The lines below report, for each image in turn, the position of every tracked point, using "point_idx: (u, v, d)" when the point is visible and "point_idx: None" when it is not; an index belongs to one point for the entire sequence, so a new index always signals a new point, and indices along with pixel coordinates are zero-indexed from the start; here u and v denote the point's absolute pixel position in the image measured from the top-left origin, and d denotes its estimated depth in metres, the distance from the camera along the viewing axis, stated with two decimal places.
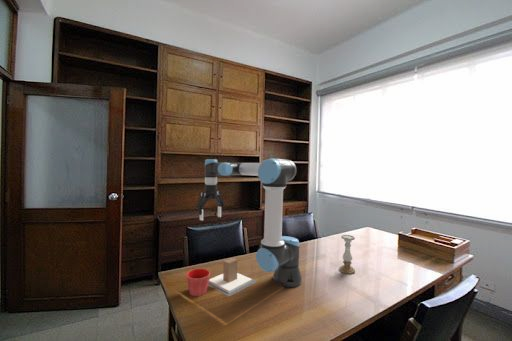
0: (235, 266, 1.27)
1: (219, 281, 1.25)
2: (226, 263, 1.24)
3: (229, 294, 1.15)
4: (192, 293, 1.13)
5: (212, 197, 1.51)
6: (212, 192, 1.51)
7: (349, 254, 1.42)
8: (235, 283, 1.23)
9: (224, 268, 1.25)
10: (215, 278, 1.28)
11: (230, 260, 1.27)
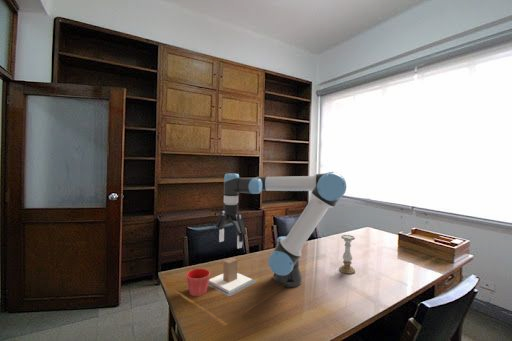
0: (235, 266, 1.27)
1: (219, 281, 1.25)
2: (226, 263, 1.24)
3: (229, 294, 1.15)
4: (192, 293, 1.13)
5: (229, 219, 1.25)
6: (229, 213, 1.25)
7: (349, 254, 1.42)
8: (235, 283, 1.23)
9: (224, 268, 1.25)
10: (215, 278, 1.28)
11: (230, 260, 1.27)
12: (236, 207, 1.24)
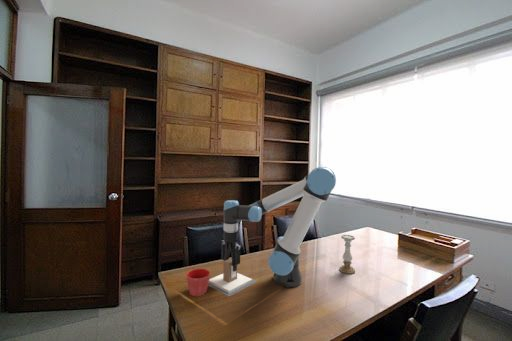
0: None
1: (219, 281, 1.25)
2: (227, 263, 1.24)
3: (229, 294, 1.15)
4: (192, 293, 1.13)
5: (229, 247, 1.25)
6: (229, 241, 1.25)
7: (349, 254, 1.42)
8: (235, 283, 1.23)
9: (224, 268, 1.25)
10: (215, 278, 1.28)
11: (230, 260, 1.27)
12: (236, 235, 1.24)
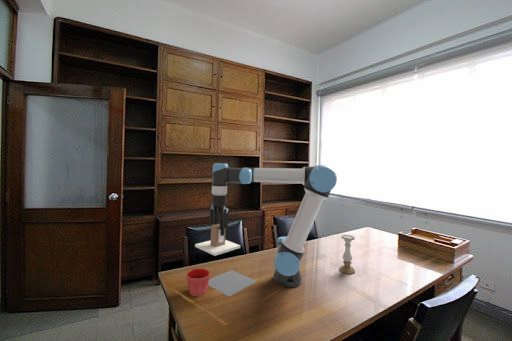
0: None
1: (206, 245, 1.21)
2: (214, 227, 1.20)
3: (229, 294, 1.15)
4: (192, 293, 1.13)
5: None
6: (217, 204, 1.21)
7: (349, 254, 1.42)
8: (222, 248, 1.19)
9: (211, 232, 1.21)
10: (202, 243, 1.24)
11: (218, 224, 1.23)
12: (224, 198, 1.20)
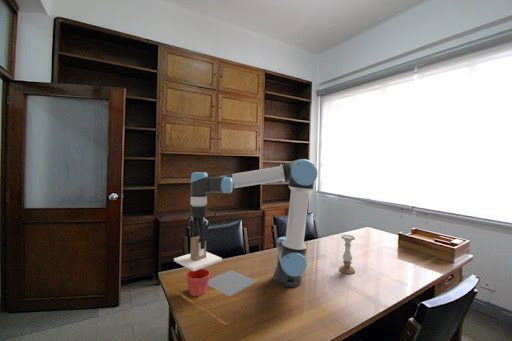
0: None
1: (185, 260, 1.14)
2: (193, 240, 1.14)
3: (229, 294, 1.15)
4: (192, 293, 1.13)
5: None
6: (197, 216, 1.15)
7: (349, 254, 1.42)
8: (202, 261, 1.12)
9: (191, 245, 1.15)
10: (182, 257, 1.17)
11: (198, 237, 1.17)
12: (204, 209, 1.14)
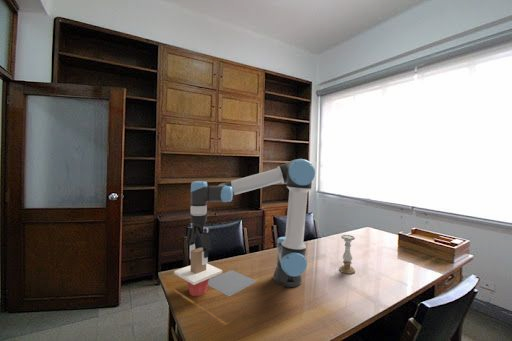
0: None
1: (186, 272, 1.14)
2: (193, 252, 1.14)
3: (229, 294, 1.15)
4: (192, 293, 1.13)
5: (197, 231, 1.15)
6: (197, 225, 1.15)
7: (349, 254, 1.42)
8: (202, 274, 1.13)
9: (191, 258, 1.15)
10: (182, 269, 1.18)
11: (198, 249, 1.17)
12: (204, 218, 1.14)
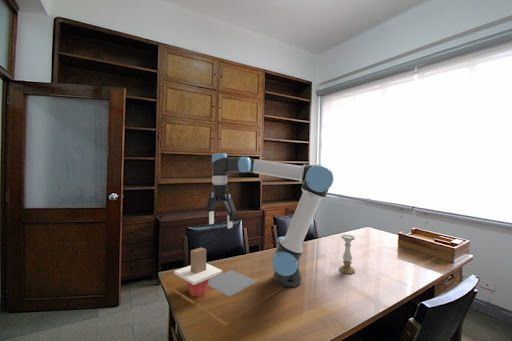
0: (203, 256, 1.16)
1: (186, 272, 1.15)
2: (194, 252, 1.14)
3: (229, 294, 1.15)
4: (192, 293, 1.13)
5: (219, 200, 1.23)
6: (218, 194, 1.23)
7: (349, 254, 1.42)
8: (202, 274, 1.13)
9: (191, 258, 1.15)
10: (182, 269, 1.18)
11: (198, 249, 1.17)
12: (225, 187, 1.22)
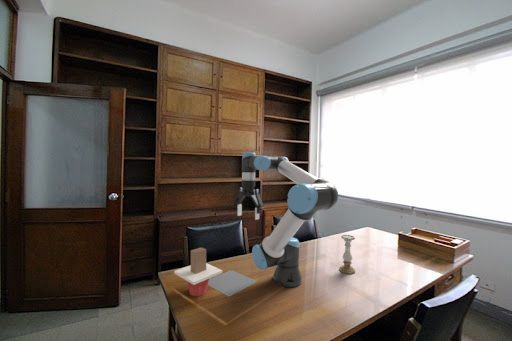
0: (203, 256, 1.16)
1: (186, 272, 1.15)
2: (193, 252, 1.14)
3: (229, 294, 1.15)
4: (192, 293, 1.13)
5: (247, 194, 1.37)
6: (247, 189, 1.37)
7: (349, 254, 1.42)
8: (202, 274, 1.13)
9: (191, 258, 1.15)
10: (182, 269, 1.18)
11: (198, 249, 1.17)
12: (253, 183, 1.36)
